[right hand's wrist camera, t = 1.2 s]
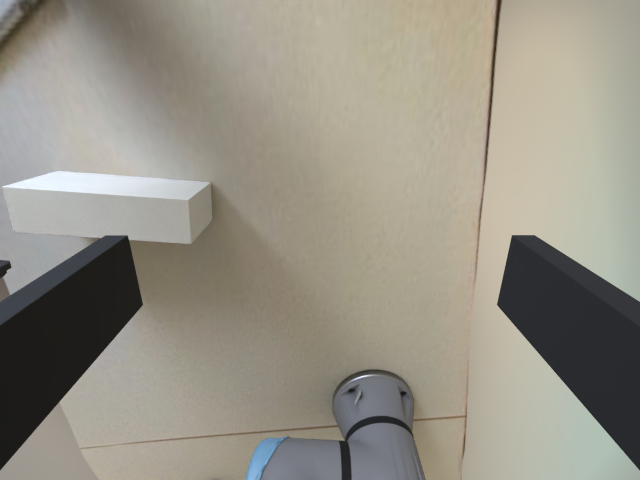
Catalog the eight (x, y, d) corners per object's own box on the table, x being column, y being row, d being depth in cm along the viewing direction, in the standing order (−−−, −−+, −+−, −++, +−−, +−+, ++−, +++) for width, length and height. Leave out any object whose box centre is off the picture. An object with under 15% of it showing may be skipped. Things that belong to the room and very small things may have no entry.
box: (211, 182, 52) (188, 199, 43) (212, 219, 54) (191, 244, 45) (57, 170, 51) (1, 186, 42) (65, 209, 54) (14, 232, 45)
